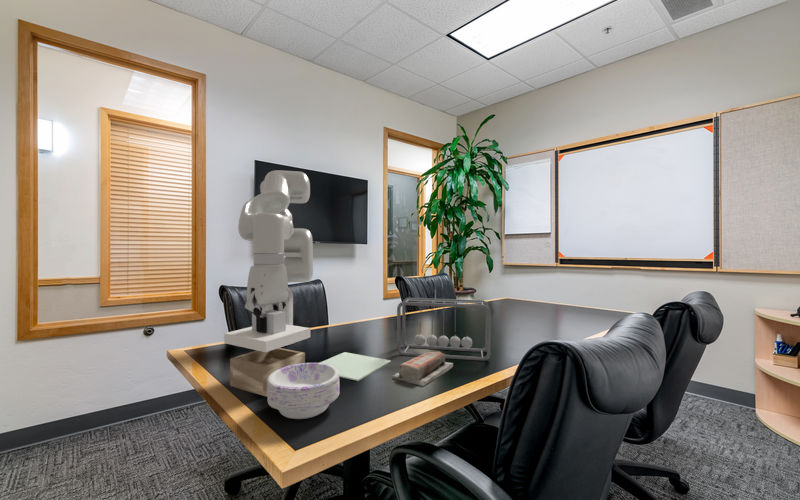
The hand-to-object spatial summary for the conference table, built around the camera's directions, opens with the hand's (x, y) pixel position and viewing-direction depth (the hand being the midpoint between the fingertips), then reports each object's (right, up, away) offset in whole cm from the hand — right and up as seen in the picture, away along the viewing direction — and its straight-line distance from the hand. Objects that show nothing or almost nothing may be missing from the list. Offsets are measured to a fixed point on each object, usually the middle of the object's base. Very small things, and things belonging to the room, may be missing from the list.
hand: (268, 329), depth 93 cm
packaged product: (+41, -15, +8) cm, 45 cm away
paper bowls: (+13, -14, -15) cm, 25 cm away
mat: (+20, -14, +13) cm, 27 cm away
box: (0, -14, 0) cm, 14 cm away
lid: (0, -3, 0) cm, 3 cm away
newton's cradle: (+49, -14, +26) cm, 57 cm away
